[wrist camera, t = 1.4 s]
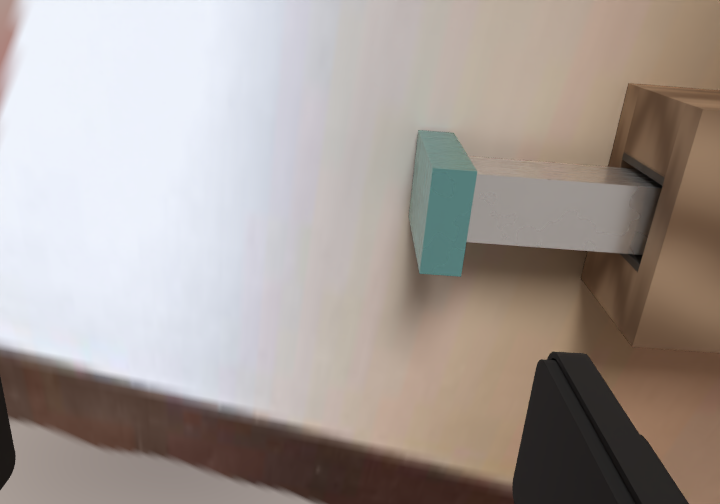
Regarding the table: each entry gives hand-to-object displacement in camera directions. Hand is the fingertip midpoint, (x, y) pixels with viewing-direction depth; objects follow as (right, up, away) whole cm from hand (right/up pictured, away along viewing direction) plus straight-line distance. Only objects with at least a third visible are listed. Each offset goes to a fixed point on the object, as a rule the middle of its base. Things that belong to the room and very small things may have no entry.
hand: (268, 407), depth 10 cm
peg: (+12, +7, +25) cm, 28 cm away
